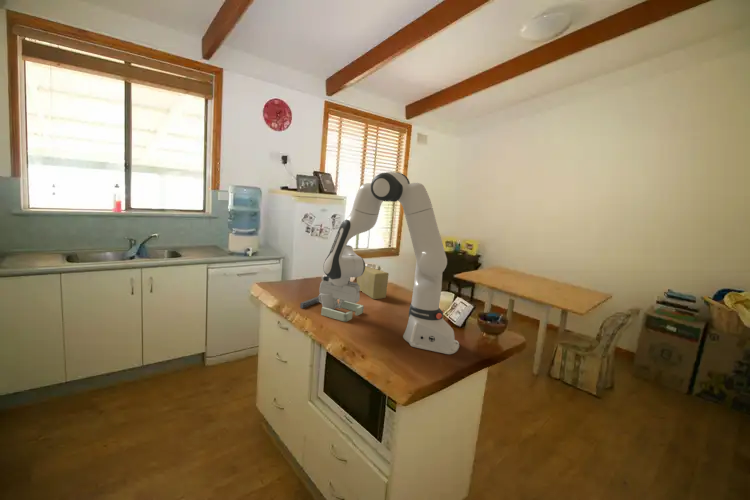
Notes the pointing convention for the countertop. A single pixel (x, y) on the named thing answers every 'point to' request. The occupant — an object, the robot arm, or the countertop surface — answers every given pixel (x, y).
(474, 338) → the countertop surface
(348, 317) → the cradle
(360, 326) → the countertop surface
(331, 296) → the cup
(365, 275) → the khaki rectangular box
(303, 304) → the rail
